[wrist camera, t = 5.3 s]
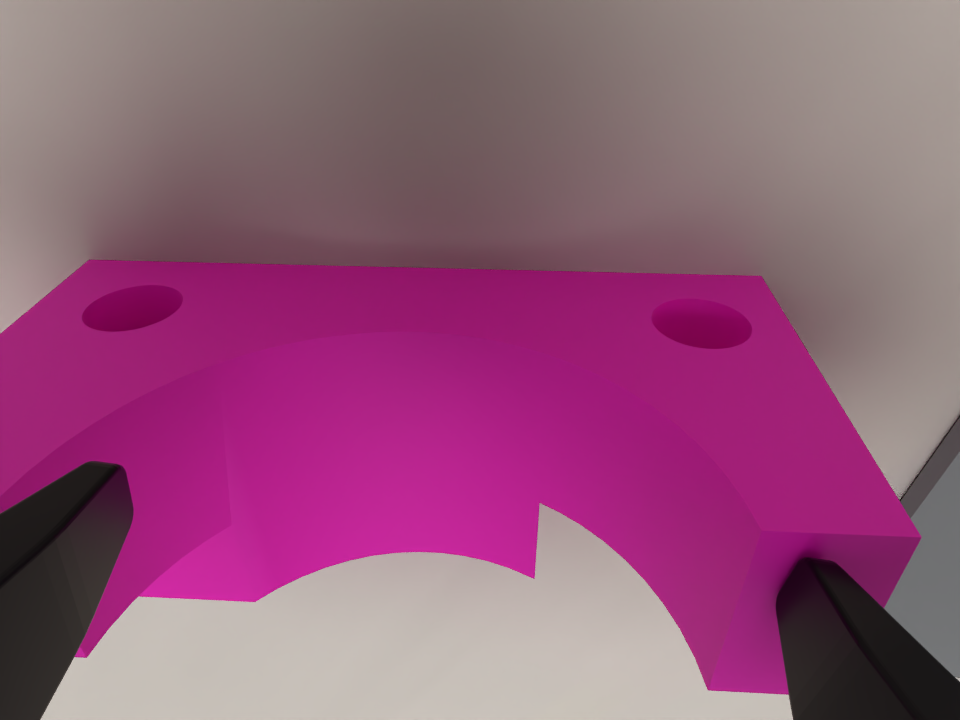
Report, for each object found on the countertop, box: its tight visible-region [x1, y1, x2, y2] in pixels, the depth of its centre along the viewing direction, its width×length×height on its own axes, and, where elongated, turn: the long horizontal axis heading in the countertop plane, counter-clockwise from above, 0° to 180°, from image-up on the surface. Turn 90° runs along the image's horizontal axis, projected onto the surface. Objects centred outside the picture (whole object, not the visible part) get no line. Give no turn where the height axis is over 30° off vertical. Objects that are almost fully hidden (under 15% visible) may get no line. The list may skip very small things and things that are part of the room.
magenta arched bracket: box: [0, 260, 922, 695], centre depth 14 cm, size 15×6×8 cm, turn 90°
